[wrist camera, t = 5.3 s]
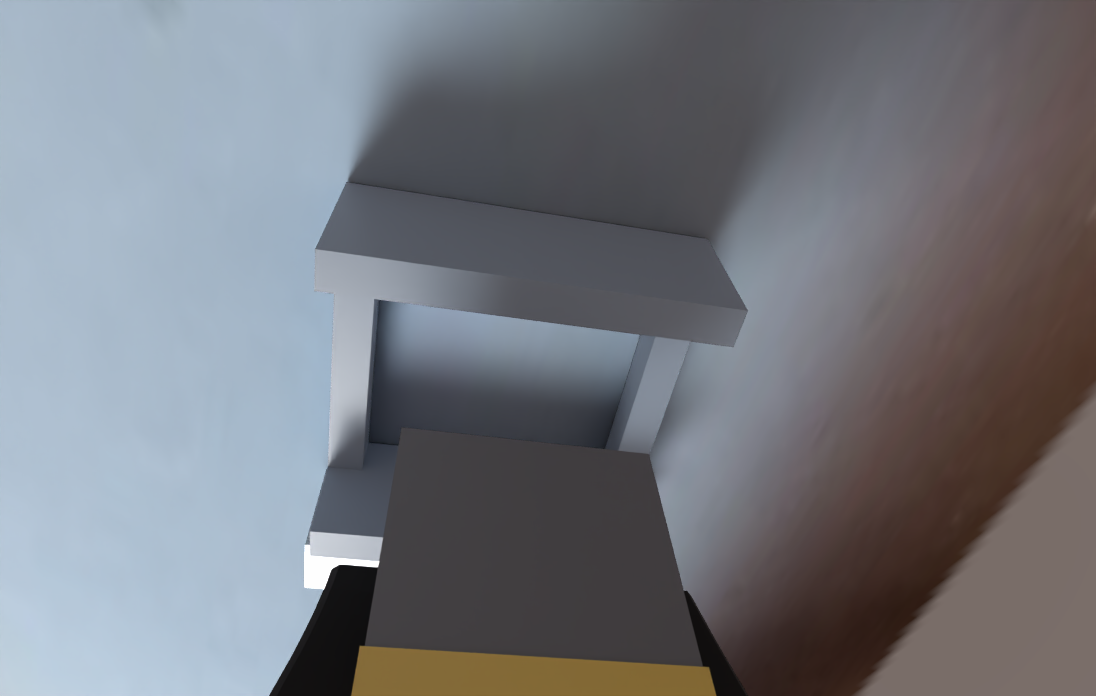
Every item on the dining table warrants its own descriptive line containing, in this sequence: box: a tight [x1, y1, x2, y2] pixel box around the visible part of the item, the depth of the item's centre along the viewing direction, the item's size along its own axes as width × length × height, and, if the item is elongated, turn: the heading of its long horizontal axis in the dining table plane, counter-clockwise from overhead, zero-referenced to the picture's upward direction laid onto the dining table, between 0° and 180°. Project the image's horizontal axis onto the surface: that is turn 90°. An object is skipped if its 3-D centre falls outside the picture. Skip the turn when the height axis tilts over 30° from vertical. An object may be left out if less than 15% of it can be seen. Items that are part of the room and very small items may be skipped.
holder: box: [310, 182, 748, 562], centre depth 16 cm, size 8×8×3 cm
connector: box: [351, 427, 716, 696], centre depth 11 cm, size 4×4×5 cm
